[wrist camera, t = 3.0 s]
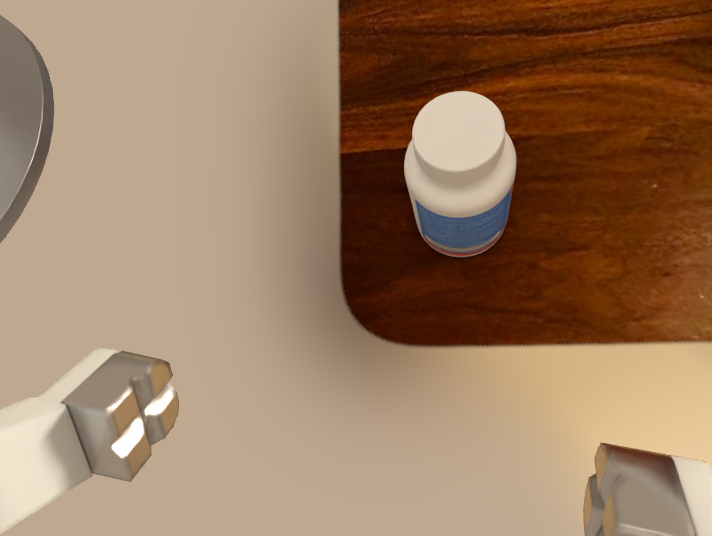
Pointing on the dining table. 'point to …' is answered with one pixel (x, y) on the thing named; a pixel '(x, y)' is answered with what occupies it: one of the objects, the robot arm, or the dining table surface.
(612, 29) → the dining table surface
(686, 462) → the robot arm
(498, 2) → the dining table surface
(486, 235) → the pill bottle
